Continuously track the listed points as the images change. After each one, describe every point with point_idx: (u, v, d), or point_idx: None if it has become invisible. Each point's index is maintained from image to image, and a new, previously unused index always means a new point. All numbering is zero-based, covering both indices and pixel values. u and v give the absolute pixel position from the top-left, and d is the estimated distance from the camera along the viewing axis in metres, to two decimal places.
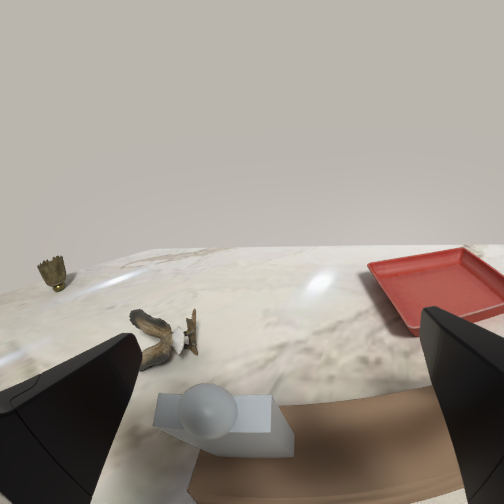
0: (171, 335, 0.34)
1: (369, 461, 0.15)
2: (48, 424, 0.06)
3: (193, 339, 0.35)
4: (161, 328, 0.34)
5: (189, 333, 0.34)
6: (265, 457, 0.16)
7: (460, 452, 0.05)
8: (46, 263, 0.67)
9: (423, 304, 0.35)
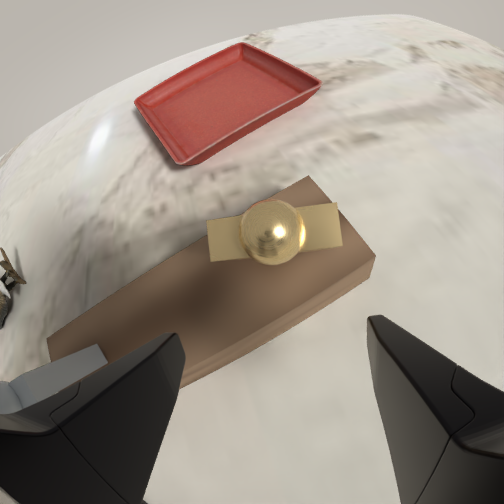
0: None
1: None
2: (94, 438, 0.05)
3: (14, 275, 0.29)
4: None
5: (7, 274, 0.28)
6: None
7: (397, 469, 0.05)
8: None
9: (199, 122, 0.34)
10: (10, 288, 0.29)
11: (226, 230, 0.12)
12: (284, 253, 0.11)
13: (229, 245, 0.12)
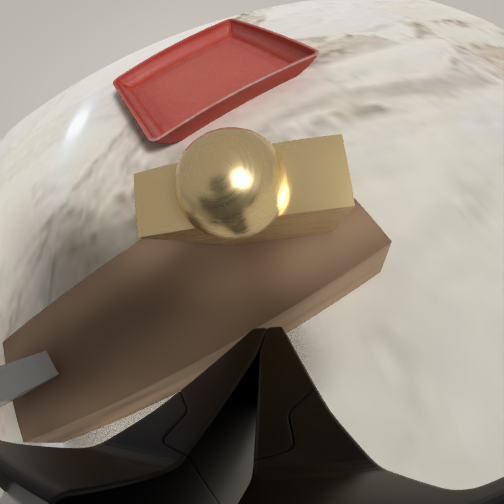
0: None
1: (119, 356, 0.15)
2: (211, 459, 0.05)
3: None
4: None
5: None
6: None
7: None
8: None
9: (181, 99, 0.29)
10: None
11: (161, 186, 0.07)
12: (248, 215, 0.06)
13: (165, 210, 0.07)
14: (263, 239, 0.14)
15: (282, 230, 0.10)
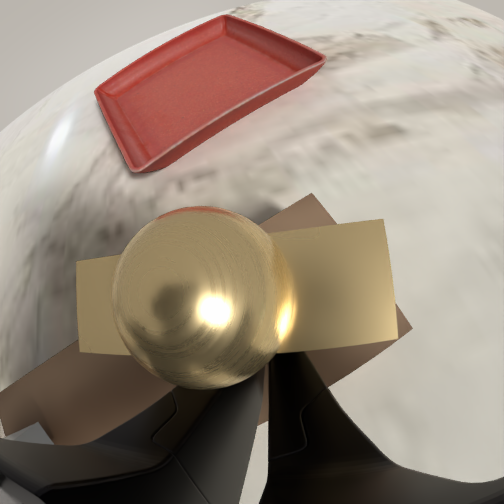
0: None
1: None
2: (200, 458, 0.05)
3: None
4: None
5: None
6: None
7: None
8: None
9: (168, 112, 0.26)
10: None
11: (107, 286, 0.05)
12: (221, 370, 0.03)
13: (112, 322, 0.05)
14: None
15: None
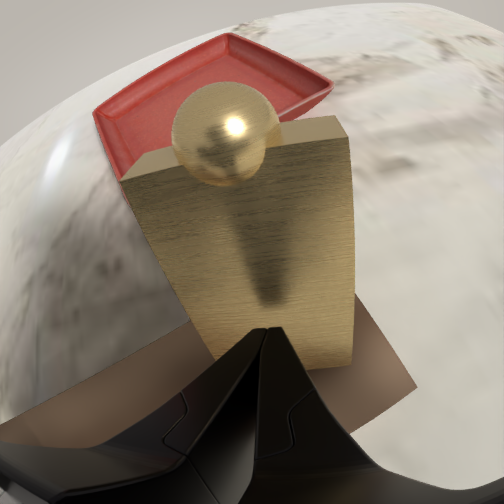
0: None
1: None
2: (211, 459, 0.05)
3: None
4: None
5: None
6: None
7: None
8: None
9: (168, 139, 0.25)
10: None
11: (162, 153, 0.07)
12: (232, 109, 0.05)
13: (156, 163, 0.07)
14: None
15: (282, 288, 0.08)
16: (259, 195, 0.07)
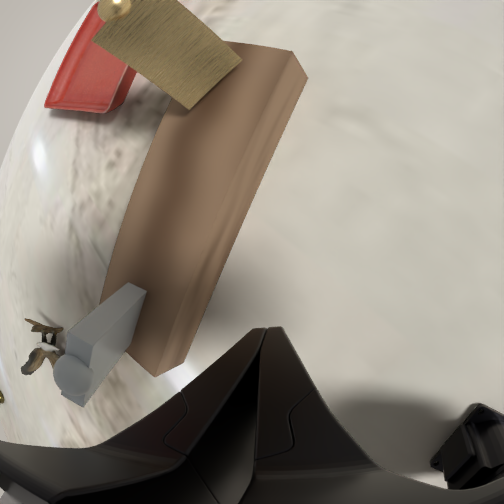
0: (43, 350, 0.31)
1: (177, 237, 0.21)
2: (211, 459, 0.05)
3: (49, 329, 0.33)
4: (37, 355, 0.31)
5: (43, 334, 0.31)
6: (139, 312, 0.22)
7: None
8: None
9: (103, 77, 0.30)
10: (54, 342, 0.33)
11: None
12: None
13: (100, 29, 0.13)
14: (196, 81, 0.18)
15: (171, 36, 0.15)
16: (137, 11, 0.13)
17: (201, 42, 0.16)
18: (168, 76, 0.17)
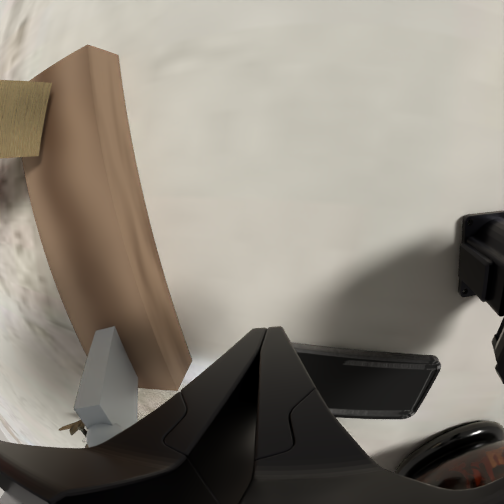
0: None
1: (103, 263, 0.19)
2: (211, 459, 0.05)
3: (82, 422, 0.31)
4: None
5: (81, 429, 0.30)
6: (122, 347, 0.21)
7: None
8: None
9: None
10: None
11: None
12: None
13: None
14: (27, 129, 0.15)
15: None
16: None
17: (9, 96, 0.12)
18: (3, 143, 0.14)
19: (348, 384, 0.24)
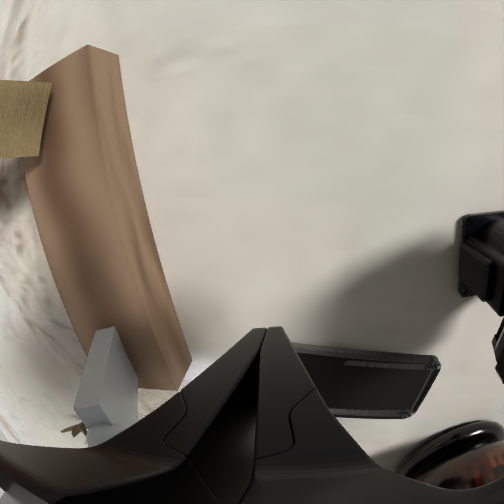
0: None
1: (103, 264, 0.19)
2: (211, 459, 0.05)
3: None
4: None
5: (83, 431, 0.30)
6: (122, 347, 0.21)
7: None
8: None
9: None
10: None
11: None
12: None
13: None
14: (27, 129, 0.15)
15: None
16: None
17: (9, 96, 0.12)
18: (3, 143, 0.14)
19: (348, 384, 0.24)
